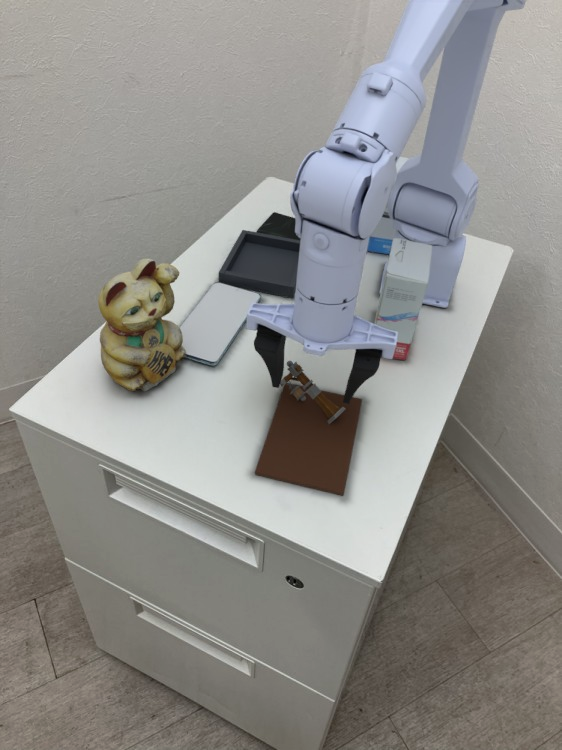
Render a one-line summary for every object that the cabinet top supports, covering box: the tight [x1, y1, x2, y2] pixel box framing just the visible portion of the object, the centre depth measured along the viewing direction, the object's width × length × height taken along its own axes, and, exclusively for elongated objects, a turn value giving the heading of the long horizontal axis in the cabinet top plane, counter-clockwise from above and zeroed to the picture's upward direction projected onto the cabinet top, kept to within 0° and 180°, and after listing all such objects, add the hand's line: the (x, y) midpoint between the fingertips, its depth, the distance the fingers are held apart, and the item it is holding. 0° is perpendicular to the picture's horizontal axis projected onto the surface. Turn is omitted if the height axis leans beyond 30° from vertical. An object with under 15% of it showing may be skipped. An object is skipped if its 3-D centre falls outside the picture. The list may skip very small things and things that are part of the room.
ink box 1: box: [367, 156, 411, 255], centre depth 86 cm, size 8×5×12 cm, turn 168°
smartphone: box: [179, 281, 262, 366], centre depth 73 cm, size 7×1×15 cm
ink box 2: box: [373, 238, 432, 361], centre depth 70 cm, size 9×5×12 cm, turn 166°
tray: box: [218, 229, 300, 299], centre depth 82 cm, size 11×12×2 cm
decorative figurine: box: [97, 258, 186, 392], centre depth 62 cm, size 10×8×15 cm
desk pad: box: [254, 382, 363, 496], centre depth 61 cm, size 9×13×1 cm
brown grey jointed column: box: [279, 360, 346, 424], centre depth 63 cm, size 2×8×4 cm, turn 51°
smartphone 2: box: [255, 211, 301, 240], centre depth 88 cm, size 7×1×15 cm
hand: (312, 388), depth 62 cm, fingers open, 7 cm apart
